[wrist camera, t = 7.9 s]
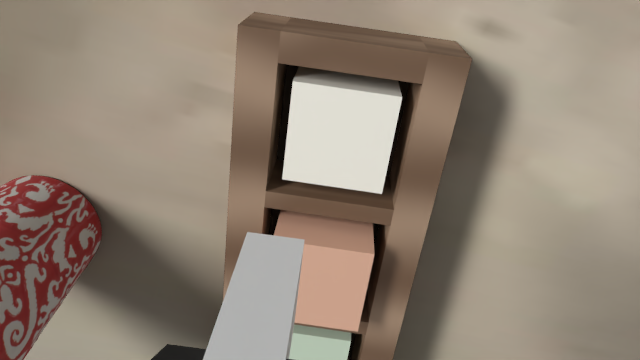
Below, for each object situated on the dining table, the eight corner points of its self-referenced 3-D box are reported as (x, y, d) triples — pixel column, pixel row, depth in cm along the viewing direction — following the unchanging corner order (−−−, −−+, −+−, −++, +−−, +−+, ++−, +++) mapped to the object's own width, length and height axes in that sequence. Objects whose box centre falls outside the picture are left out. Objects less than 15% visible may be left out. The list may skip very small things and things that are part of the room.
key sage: (274, 292, 35) (266, 328, 32) (351, 303, 35) (350, 341, 32) (267, 349, 37) (259, 389, 34) (340, 360, 37) (338, 400, 34)
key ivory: (300, 63, 28) (292, 81, 24) (397, 78, 28) (402, 97, 24) (290, 153, 30) (282, 179, 27) (379, 165, 30) (382, 194, 27)
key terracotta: (281, 206, 30) (272, 239, 26) (372, 219, 30) (374, 254, 26) (273, 279, 32) (264, 318, 29) (357, 291, 32) (357, 331, 29)
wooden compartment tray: (254, 12, 27) (238, 24, 23) (456, 41, 27) (472, 58, 23) (230, 361, 39) (217, 407, 35) (371, 382, 39) (373, 430, 35)
